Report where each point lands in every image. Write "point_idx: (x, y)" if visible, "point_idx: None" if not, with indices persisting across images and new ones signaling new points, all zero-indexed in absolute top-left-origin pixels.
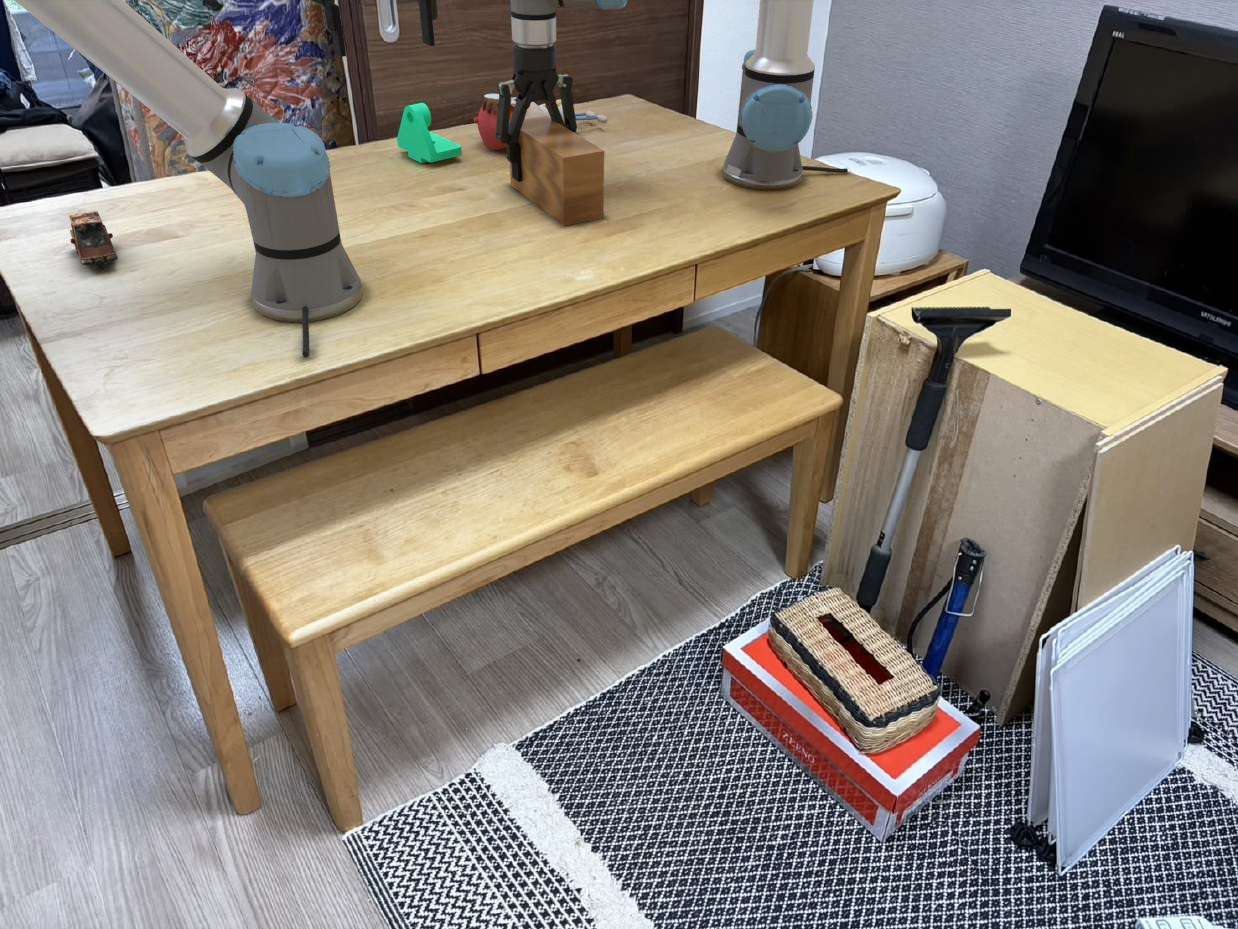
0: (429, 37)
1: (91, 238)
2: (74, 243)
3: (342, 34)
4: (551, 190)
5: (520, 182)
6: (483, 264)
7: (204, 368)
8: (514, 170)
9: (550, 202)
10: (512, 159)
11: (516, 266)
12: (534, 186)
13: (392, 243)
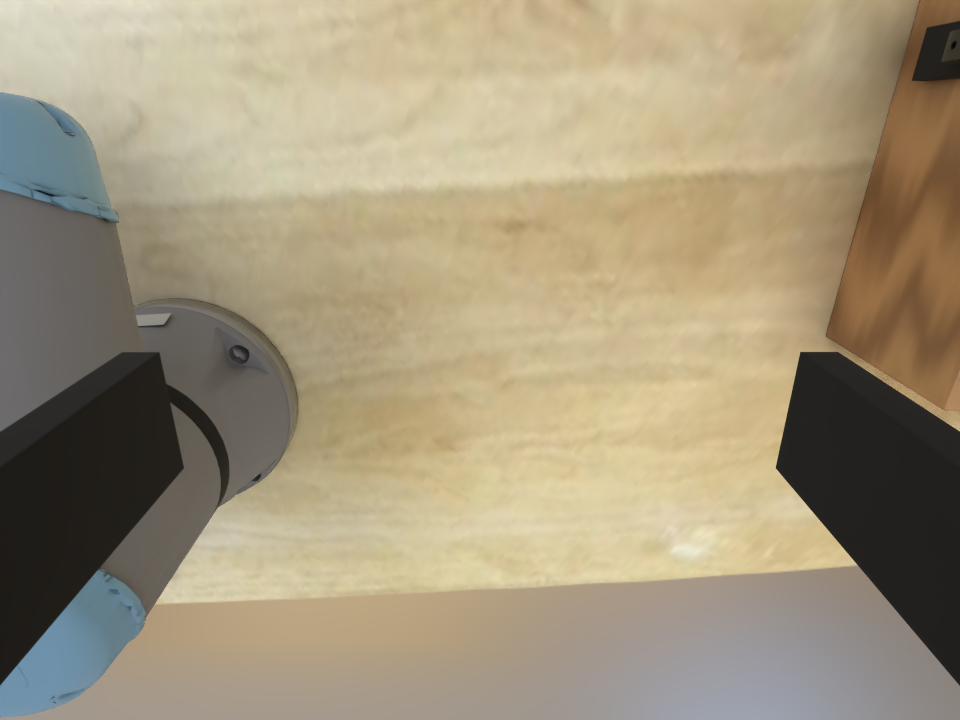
0: (803, 500)
1: None
2: None
3: (101, 556)
4: (885, 293)
5: None
6: (559, 421)
7: None
8: (940, 48)
9: (865, 276)
10: (954, 61)
11: (610, 458)
12: (904, 175)
13: (431, 227)
